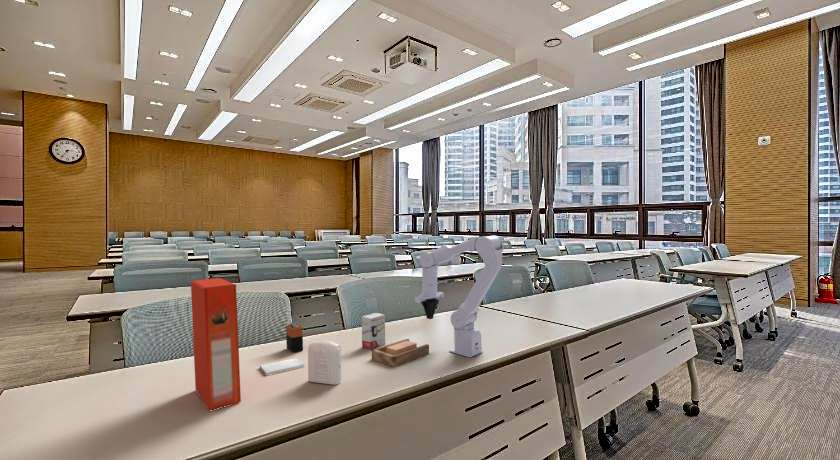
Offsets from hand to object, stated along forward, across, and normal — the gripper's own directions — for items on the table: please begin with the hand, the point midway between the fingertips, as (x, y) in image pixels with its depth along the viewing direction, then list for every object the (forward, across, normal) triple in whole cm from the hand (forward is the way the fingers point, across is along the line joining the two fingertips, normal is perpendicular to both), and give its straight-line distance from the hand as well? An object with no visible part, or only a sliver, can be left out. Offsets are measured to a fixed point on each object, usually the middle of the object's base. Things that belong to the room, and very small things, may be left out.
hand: (429, 318), depth 152 cm
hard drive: (+12, +49, -22) cm, 55 cm away
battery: (+12, +37, -36) cm, 53 cm away
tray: (+10, +15, 0) cm, 19 cm away
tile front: (+11, +18, 0) cm, 21 cm away
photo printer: (+11, +46, -1) cm, 48 cm away
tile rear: (+11, +13, 0) cm, 17 cm away
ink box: (+11, +14, -17) cm, 24 cm away
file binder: (+11, +72, -16) cm, 75 cm away
